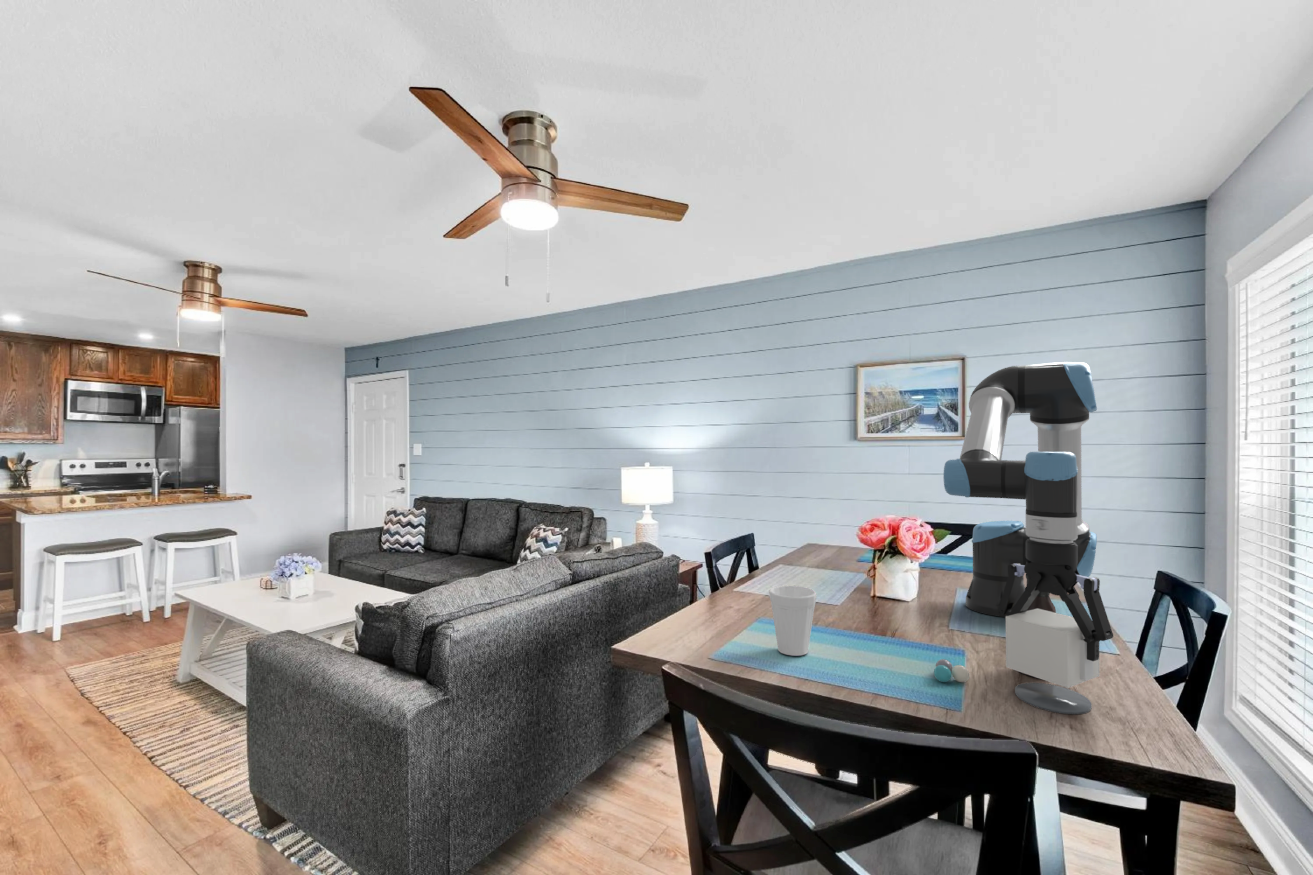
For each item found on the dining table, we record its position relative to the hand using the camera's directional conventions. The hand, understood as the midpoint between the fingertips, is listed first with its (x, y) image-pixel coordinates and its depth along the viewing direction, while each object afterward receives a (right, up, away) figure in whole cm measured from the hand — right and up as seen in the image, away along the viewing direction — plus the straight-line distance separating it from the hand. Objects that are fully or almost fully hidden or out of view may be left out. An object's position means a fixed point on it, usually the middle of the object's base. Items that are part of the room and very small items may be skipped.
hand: (1051, 667), depth 101 cm
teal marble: (-15, -6, +8) cm, 18 cm away
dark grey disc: (0, -6, 0) cm, 6 cm away
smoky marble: (-14, -6, +11) cm, 18 cm away
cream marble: (-12, -6, +8) cm, 15 cm away
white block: (0, -1, 0) cm, 1 cm away
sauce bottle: (+5, -6, +11) cm, 13 cm away
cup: (-40, -6, +23) cm, 46 cm away
